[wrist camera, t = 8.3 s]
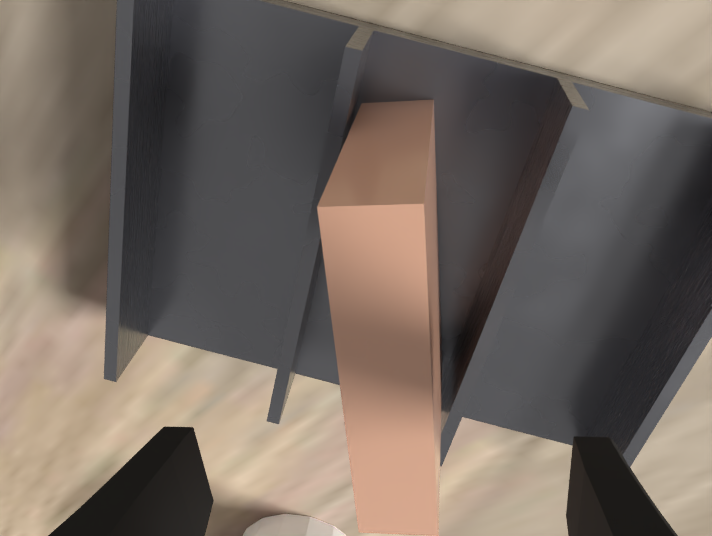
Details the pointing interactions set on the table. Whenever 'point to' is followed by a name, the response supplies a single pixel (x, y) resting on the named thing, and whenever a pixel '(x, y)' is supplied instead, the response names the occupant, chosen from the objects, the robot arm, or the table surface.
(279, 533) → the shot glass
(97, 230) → the table surface
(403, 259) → the upright salmon slab
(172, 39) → the rack
